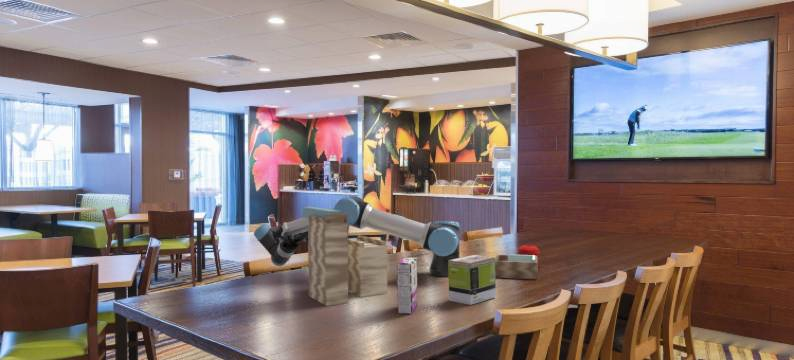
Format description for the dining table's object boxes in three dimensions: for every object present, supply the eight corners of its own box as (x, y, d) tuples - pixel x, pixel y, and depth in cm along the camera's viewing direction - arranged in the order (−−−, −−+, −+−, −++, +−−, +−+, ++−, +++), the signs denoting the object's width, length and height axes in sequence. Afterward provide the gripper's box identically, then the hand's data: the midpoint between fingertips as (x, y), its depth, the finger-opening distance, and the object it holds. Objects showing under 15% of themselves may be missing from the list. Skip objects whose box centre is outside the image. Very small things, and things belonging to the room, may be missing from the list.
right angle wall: (507, 270, 244) (507, 254, 244) (535, 272, 241) (535, 255, 241) (506, 276, 232) (506, 258, 232) (534, 277, 229) (534, 259, 229)
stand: (348, 302, 186) (347, 213, 186) (326, 306, 182) (325, 214, 182) (329, 293, 201) (328, 210, 200) (308, 296, 197) (308, 211, 196)
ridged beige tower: (387, 293, 200) (386, 241, 200) (360, 297, 195) (360, 243, 194) (361, 283, 219) (360, 235, 219) (336, 286, 214) (335, 237, 213)
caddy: (537, 271, 242) (537, 255, 241) (537, 279, 224) (537, 262, 224) (496, 269, 246) (496, 254, 246) (493, 277, 229) (493, 261, 229)
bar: (340, 222, 186) (340, 210, 186) (329, 223, 184) (329, 211, 184) (312, 216, 209) (312, 206, 209) (302, 217, 207) (302, 207, 207)
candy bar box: (403, 305, 183) (403, 257, 183) (417, 305, 182) (417, 257, 182) (396, 313, 172) (396, 262, 172) (412, 314, 171) (411, 263, 171)
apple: (518, 268, 249) (518, 245, 249) (517, 264, 259) (517, 242, 259) (540, 268, 248) (540, 245, 247) (538, 265, 257) (538, 242, 257)
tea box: (474, 293, 199) (473, 254, 199) (496, 298, 192) (496, 257, 192) (447, 300, 189) (447, 258, 188) (470, 305, 181) (470, 262, 181)
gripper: (317, 251, 234) (333, 231, 218) (260, 256, 221) (273, 235, 205) (313, 235, 237) (330, 214, 221) (257, 239, 224) (270, 217, 208)
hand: (302, 224), depth 213 cm, fingers open, 13 cm apart
